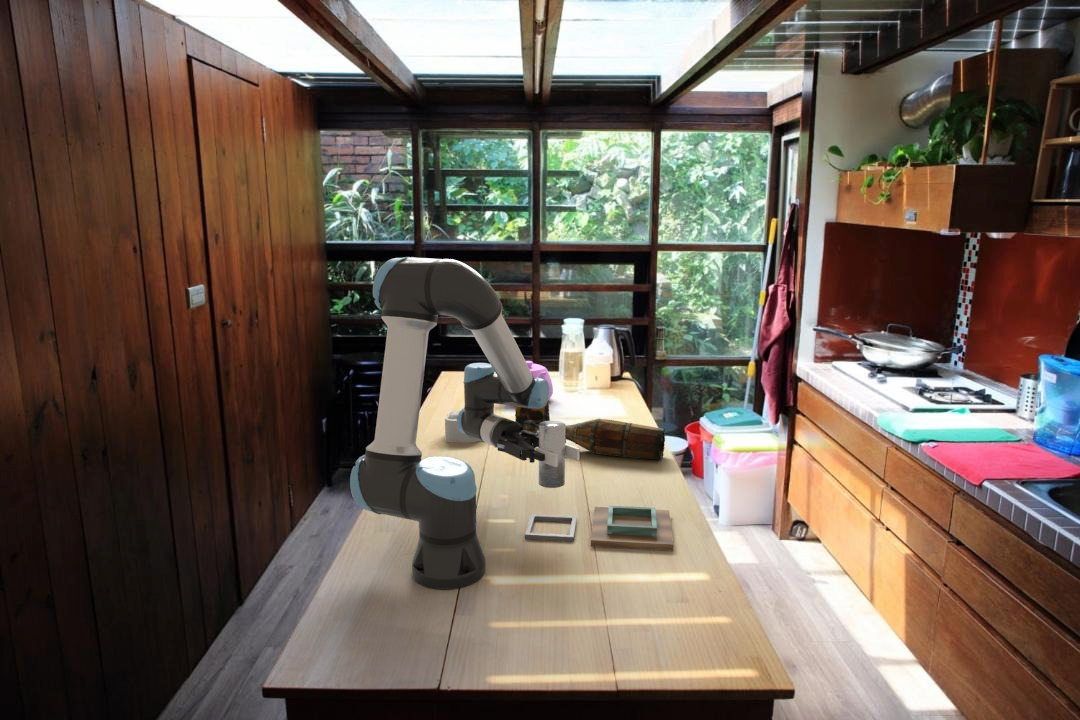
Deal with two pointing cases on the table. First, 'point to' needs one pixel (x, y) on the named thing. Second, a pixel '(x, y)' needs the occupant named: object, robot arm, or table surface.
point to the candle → (532, 414)
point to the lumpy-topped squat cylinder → (455, 430)
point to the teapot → (541, 374)
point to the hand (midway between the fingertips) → (567, 457)
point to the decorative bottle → (613, 438)
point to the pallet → (632, 528)
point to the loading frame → (551, 536)
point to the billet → (555, 443)
